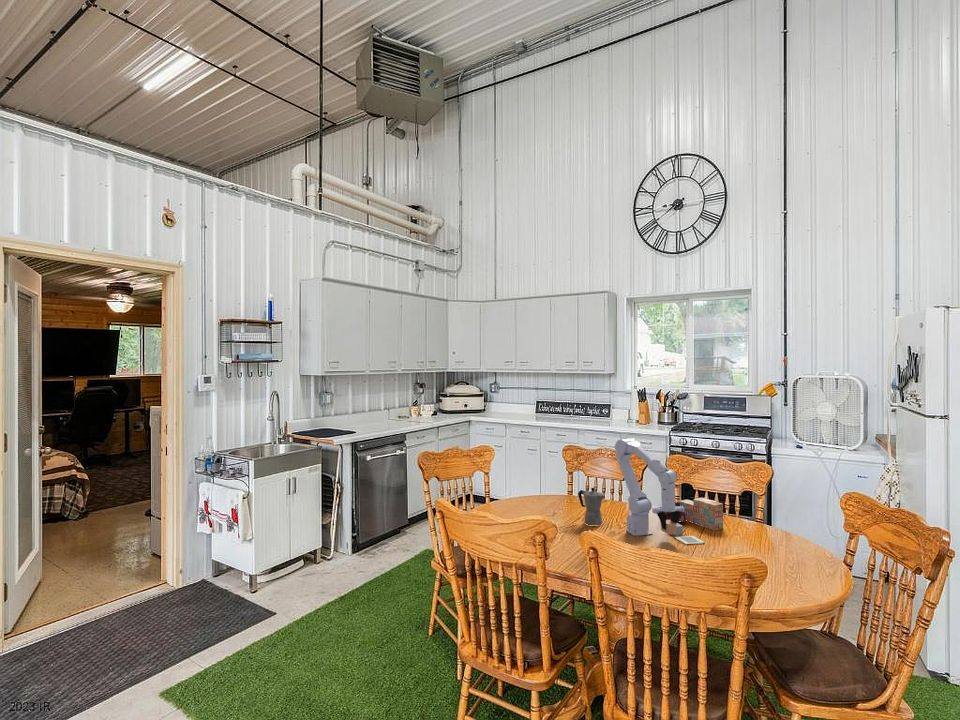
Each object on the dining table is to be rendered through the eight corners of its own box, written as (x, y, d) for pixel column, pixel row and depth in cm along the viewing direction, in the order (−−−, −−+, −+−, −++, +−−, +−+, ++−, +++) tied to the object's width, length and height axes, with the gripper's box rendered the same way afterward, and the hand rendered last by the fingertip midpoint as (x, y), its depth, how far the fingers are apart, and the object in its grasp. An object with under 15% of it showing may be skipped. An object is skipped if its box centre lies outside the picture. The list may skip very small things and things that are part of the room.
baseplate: (686, 545, 219) (685, 543, 219) (674, 538, 228) (674, 537, 228) (704, 543, 221) (704, 542, 221) (692, 537, 230) (692, 535, 230)
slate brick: (675, 536, 231) (674, 526, 231) (667, 532, 237) (667, 522, 237) (683, 535, 232) (682, 526, 232) (675, 531, 238) (675, 522, 238)
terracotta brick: (668, 534, 221) (668, 524, 221) (661, 530, 227) (660, 520, 227) (676, 533, 222) (676, 523, 222) (669, 529, 228) (669, 519, 228)
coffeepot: (610, 524, 249) (609, 488, 249) (599, 529, 242) (599, 491, 243) (584, 518, 260) (583, 483, 260) (573, 522, 254) (572, 486, 254)
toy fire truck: (680, 526, 245) (680, 504, 245) (658, 520, 256) (658, 499, 256) (688, 523, 249) (688, 502, 249) (667, 517, 259) (666, 497, 260)
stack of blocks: (678, 519, 257) (678, 494, 258) (687, 517, 260) (687, 493, 260) (714, 530, 238) (714, 504, 238) (723, 528, 241) (723, 503, 241)
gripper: (657, 501, 219) (658, 532, 219) (688, 499, 222) (688, 530, 222) (649, 496, 226) (650, 527, 226) (679, 495, 229) (679, 525, 229)
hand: (668, 528), depth 224 cm, fingers closed on terracotta brick, 4 cm apart
